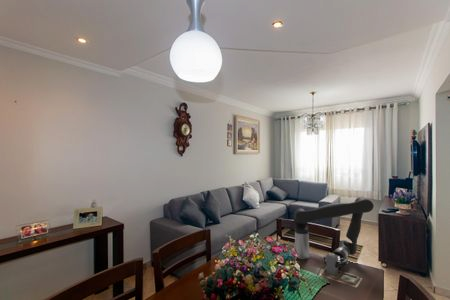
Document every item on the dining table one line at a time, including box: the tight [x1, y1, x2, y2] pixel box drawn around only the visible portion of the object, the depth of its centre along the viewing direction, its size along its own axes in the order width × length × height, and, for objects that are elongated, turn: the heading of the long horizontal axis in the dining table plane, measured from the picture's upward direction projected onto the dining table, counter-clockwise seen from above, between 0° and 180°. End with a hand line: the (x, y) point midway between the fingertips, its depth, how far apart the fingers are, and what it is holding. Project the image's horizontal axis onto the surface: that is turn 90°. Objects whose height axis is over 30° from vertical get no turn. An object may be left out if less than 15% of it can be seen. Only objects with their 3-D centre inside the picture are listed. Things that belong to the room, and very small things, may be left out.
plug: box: [325, 252, 339, 276], centre depth 138 cm, size 5×5×12 cm
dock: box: [318, 267, 363, 288], centre depth 135 cm, size 20×12×2 cm, turn 47°
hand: (330, 264), depth 136 cm, fingers open, 5 cm apart
